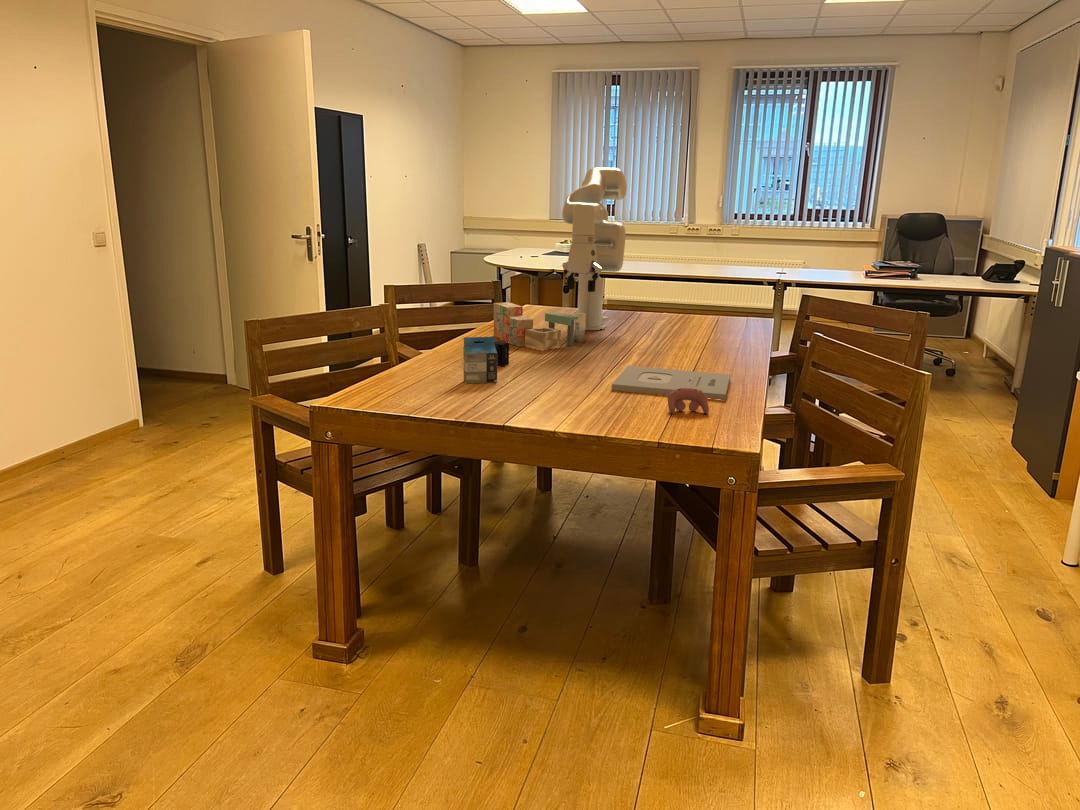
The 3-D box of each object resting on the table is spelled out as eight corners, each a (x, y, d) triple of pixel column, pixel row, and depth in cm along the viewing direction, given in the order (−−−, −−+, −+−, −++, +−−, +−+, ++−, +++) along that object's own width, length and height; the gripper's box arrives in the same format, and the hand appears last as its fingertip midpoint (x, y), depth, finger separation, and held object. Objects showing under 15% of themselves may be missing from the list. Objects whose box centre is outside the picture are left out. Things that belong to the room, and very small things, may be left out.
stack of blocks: (532, 346, 267) (533, 310, 264) (516, 347, 265) (516, 311, 261) (509, 335, 286) (509, 301, 283) (493, 336, 283) (493, 302, 280)
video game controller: (705, 417, 193) (704, 389, 194) (710, 414, 188) (709, 385, 190) (666, 416, 192) (665, 389, 194) (670, 413, 188) (669, 385, 189)
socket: (543, 344, 270) (543, 327, 269) (560, 347, 265) (560, 330, 263) (525, 347, 264) (525, 329, 262) (541, 351, 259) (542, 333, 257)
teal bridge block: (552, 340, 278) (552, 312, 275) (577, 345, 270) (578, 316, 267) (544, 341, 275) (545, 313, 273) (569, 346, 267) (570, 317, 265)
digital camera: (470, 363, 237) (470, 341, 235) (479, 360, 242) (479, 338, 240) (500, 368, 233) (500, 345, 231) (508, 364, 238) (509, 342, 236)
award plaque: (724, 402, 202) (725, 394, 202) (611, 392, 210) (611, 383, 210) (729, 381, 225) (730, 374, 225) (627, 372, 233) (627, 365, 233)
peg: (578, 339, 280) (579, 312, 277) (586, 341, 277) (588, 313, 275) (570, 341, 277) (571, 313, 274) (579, 342, 274) (580, 314, 272)
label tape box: (465, 384, 212) (465, 339, 209) (463, 380, 216) (463, 336, 213) (497, 383, 215) (498, 339, 211) (494, 379, 218) (494, 336, 215)
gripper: (609, 241, 265) (606, 292, 269) (571, 238, 276) (569, 287, 280) (595, 241, 259) (592, 293, 264) (557, 239, 271) (555, 288, 275)
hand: (580, 290), depth 272 cm, fingers open, 9 cm apart
